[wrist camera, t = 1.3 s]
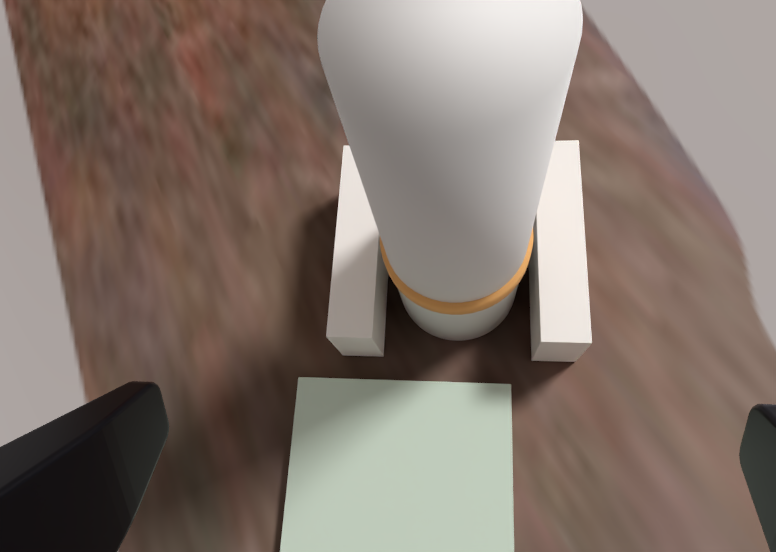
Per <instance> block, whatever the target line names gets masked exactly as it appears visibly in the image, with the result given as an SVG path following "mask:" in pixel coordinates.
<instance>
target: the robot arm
mask: <svg viewBox="0 0 776 552" xmlns="http://www.w3.org/2000/svg"><path fill="white" fill-rule="evenodd" d="M168 432H169V422H168V418H167V414H166V410H165V406H164V402H163V399H162V395H161V391H160V388H159V387H158V385H157V384H155V383H154V382H138V381H133V382H129V383H127V384H125V385H123V386H121V387H119V388H117V389H115V390H113V391H111V392H109V393H107V394H105V395H103V396H101V397H99V398H97V399H95V400H93V401H91V402H89V403H87V404H85V405H83V406H81V407H79V408H77V409H75V410H73V411H71V412H69V413H67V414H65V415H63V416H61V417H59V418H57V419H55V420H53V421H51V422H49V423H47V424H45V425H43V426H41V427H39V428H37V429H35V430H33V431H31V432H29V433H27V434H25V435H23V436H21V437H19V438H17V439H15V440H13V441H11V442H9V443H8V444H6V445H3V446H1V447H0V552H117V551H118V549H119V547H120V545H121V543H122V541H123V539H124V538H125V536H126V534H127V532H128V530H129V528H130V526H131V524H132V522H133V519H134V517H135V515H136V513H137V510H138V508H139V506H140V503H141V501H142V498H143V496H144V493H145V491H146V489H147V486H148V484H149V481H150V479H151V476H152V474H153V471H154V469H155V466H156V464H157V462H158V459H159V457H160V454H161V452H162V449H163V447H164V444H165V442H166V439H167V436H168ZM739 456H740V464H741V468H742V471H743V473H744V476H745V479H746V482H747V485H748V488H749V491H750V494H751V497H752V500H753V503H754V506H755V508H756V511H757V514H758V517H759V520H760V523H761V526H762V529H763V532H764V535H765V538H766V540H767V543H768V546H769V549H770V552H776V405H772V404H757V405H755V406H753V407H752V409H751V410H750V413H749V416H748V420H747V423H746V427H745V431H744V435H743V439H742V442H741V446H740V453H739Z"/></svg>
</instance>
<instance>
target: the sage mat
mask: <svg viewBox="0 0 776 552" xmlns="http://www.w3.org/2000/svg"><path fill="white" fill-rule="evenodd" d="M280 552H514V520H513V463H512V405H511V384H494V383H464V382H433V381H403V380H373V379H342V378H312V377H298V386H297V395H296V405H295V414H294V423H293V433H292V442H291V452H290V461H289V470H288V480H287V489H286V499H285V508H284V517H283V527H282V536H281V546H280Z"/></svg>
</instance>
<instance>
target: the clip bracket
mask: <svg viewBox="0 0 776 552" xmlns="http://www.w3.org/2000/svg"><path fill="white" fill-rule="evenodd" d="M533 235H534V238H533V248H532V252H531V256H530V260H529V294H530V328H531V361H561V362H576V361H577V360H578V359H579V357H580V356H581V355H582V354H583V353H584V352H585V350H586V349H587V348H588V347H589V346H590V345H591V343H592V336H591V321H590V306H589V290H588V275H587V260H586V245H585V229H584V214H583V199H582V184H581V169H580V153H579V140H574V141H555V142H554V146H553V150H552V154H551V158H550V162H549V166H548V169H547V173H546V177H545V181H544V185H543V189H542V193H541V197H540V201H539V205H538V209H537V213H536V217H535V221H534V224H533ZM387 290H388V271H387V269H386V266H385V263H384V261H383V257H382V253H381V249H380V234H379V231H378V228H377V225H376V223H375V220H374V217H373V214H372V211H371V208H370V205H369V202H368V199H367V196H366V193H365V190H364V187H363V184H362V181H361V178H360V175H359V172H358V169H357V167H356V164H355V161H354V158H353V155H352V152H351V149H350V146H344V148H343V159H342V170H341V181H340V191H339V202H338V213H337V224H336V235H335V245H334V256H333V267H332V278H331V289H330V299H329V310H328V321H327V332H326V337H327V338H328V339H329V341H330V342H331V343H332V344H333V345H334V346H335V347H336V348H337V349H338V350H339V351H340V353H341V354H342V355H343V356H379V357H384V342H385V324H386V307H387Z"/></svg>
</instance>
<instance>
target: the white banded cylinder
mask: <svg viewBox="0 0 776 552" xmlns="http://www.w3.org/2000/svg"><path fill="white" fill-rule="evenodd" d="M582 24H583V15H582V7H581V2H580V0H326V2H325V4H324V7H323V9H322V12H321V16H320V20H319V25H318V37H317V39H318V51H319V55H320V59H321V63H322V66H323V69H324V72H325V75H326V78H327V81H328V84H329V87H330V90H331V93H332V96H333V99H334V102H335V105H336V108H337V111H338V113H339V116H340V119H341V122H342V125H343V128H344V131H345V134H346V137H347V140H348V143H349V146H350V149H351V152H352V155H353V158H354V161H355V164H356V167H357V169H358V172H359V175H360V178H361V181H362V184H363V187H364V190H365V193H366V196H367V199H368V202H369V205H370V208H371V211H372V214H373V217H374V220H375V223H376V225H377V228H378V231H379V234H380V249H381V253H382V257H383V261H384V263H385V266H386V269H387V271H388V273H389V276H390V278H391V279H392V281H393V283H394V284H395V285H396V287H397V288H398V290H399V293H400V296H401V299H402V302H403V305H404V307H405V309H406V311H407V313H408V315H409V316H410V317H411V319H412V320H413V321H414V322H415V323H416V324H417V325H418V326H419V327H420V328H421V329H423V330H424V331H426V332H427V333H429V334H431V335H433V336H436V337H438V338H442V339H446V340H453V341H464V340H471V339H474V338H478V337H480V336H483V335H485V334H487V333H489V332H490V331H492V330H493V329H495V328H496V327H497V326H498V325H499V324H500V323H501V322H502V321H503V320H504V319H505V318H506V316H507V315H508V313H509V311H510V310H511V308H512V305H513V302H514V299H515V295H516V291H517V287H518V284H519V282H520V281H521V279H522V277H523V276H524V274H525V271H526V269H527V266H528V263H529V260H530V256H531V252H532V248H533V238H534V235H533V224H534V221H535V217H536V213H537V209H538V205H539V201H540V197H541V193H542V189H543V185H544V181H545V177H546V173H547V169H548V166H549V162H550V158H551V154H552V150H553V146H554V142H555V138H556V134H557V130H558V126H559V122H560V118H561V114H562V111H563V107H564V103H565V99H566V95H567V91H568V87H569V83H570V79H571V75H572V71H573V67H574V63H575V59H576V56H577V52H578V48H579V43H580V39H581V35H582Z"/></svg>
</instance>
